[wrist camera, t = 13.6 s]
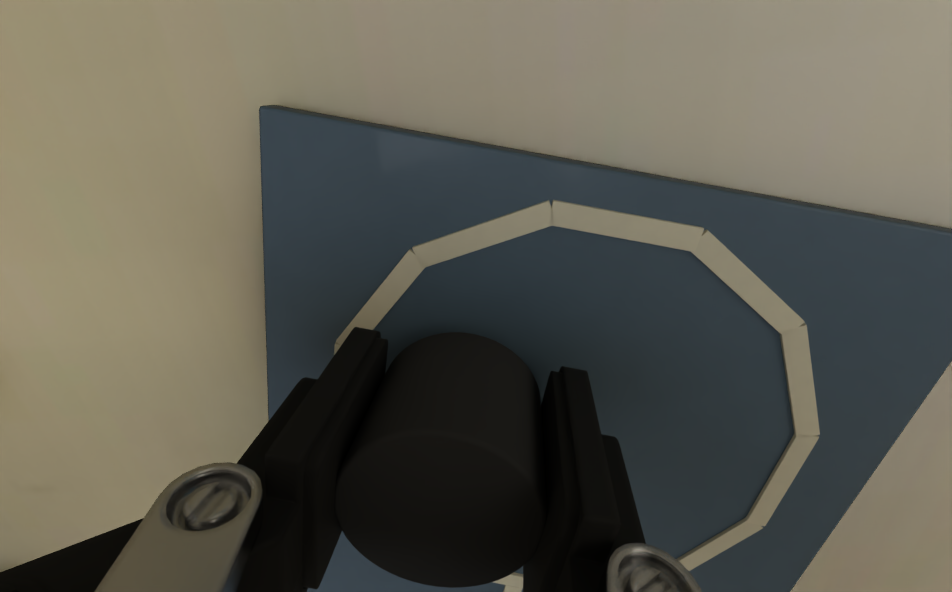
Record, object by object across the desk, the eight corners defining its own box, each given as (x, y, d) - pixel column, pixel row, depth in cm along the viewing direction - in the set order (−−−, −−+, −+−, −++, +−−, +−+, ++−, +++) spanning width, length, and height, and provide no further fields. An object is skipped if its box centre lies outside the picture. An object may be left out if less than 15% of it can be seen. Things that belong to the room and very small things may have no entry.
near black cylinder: (557, 347, 10) (571, 458, 7) (522, 473, 11) (522, 606, 8) (390, 316, 10) (334, 412, 7) (377, 445, 11) (327, 567, 9)
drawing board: (1003, 238, 9) (1039, 249, 9) (698, 695, 16) (705, 720, 16) (272, 104, 10) (254, 105, 9) (282, 610, 17) (272, 631, 16)
